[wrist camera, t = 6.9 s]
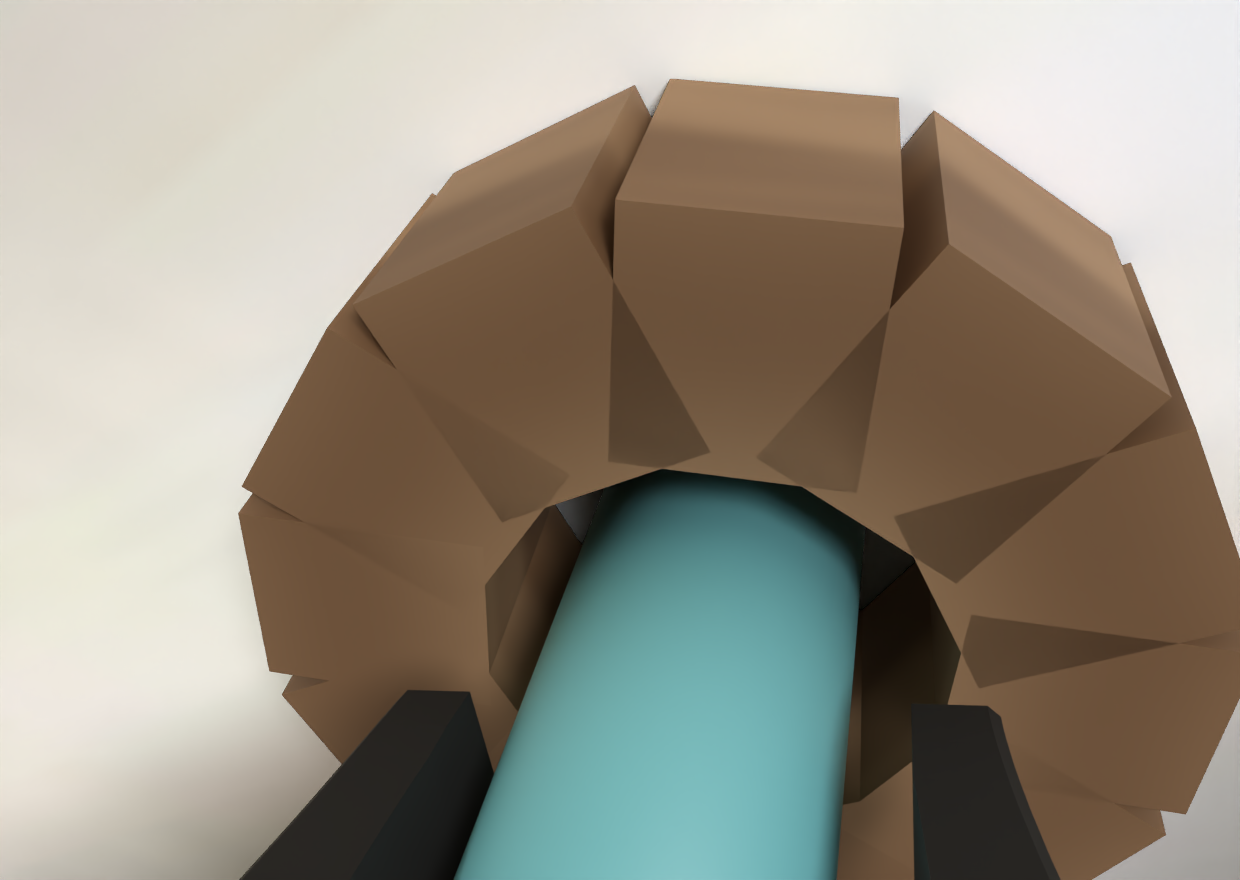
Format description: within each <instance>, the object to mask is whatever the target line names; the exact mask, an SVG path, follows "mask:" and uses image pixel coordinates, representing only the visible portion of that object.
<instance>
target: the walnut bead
mask: <svg viewBox="0 0 1240 880" xmlns="http://www.w3.org/2000/svg"><path fill="white" fill-rule="evenodd" d="M659 469H668V470H676V471H684V472H692V473H700V474H708V475H716V476H723V477H731V478H739V479H747V480H755V481H763V482H771V483H779V484H786V485H794V486H801V487H803V488H805V489H806V490H808V491H809V492H811V493H813V494H814V495H816V496H817V497H819V498H821V499H822V500H824V501H825V502H827V503H829V504H830V505H832V506H833V507H835V508H836V509H838V510H840V511H841V512H843V513H844V514H846V515H848V516H849V517H851V518H852V519H854V520H856V521H857V522H859V523H860V524H862V525H864V526H865V527H867V528H868V529H870V530H872V531H873V532H875V533H876V534H878V535H880V536H881V537H883V538H884V539H886V540H887V541H889V542H891V543H892V544H894V545H895V546H897V547H899V548H900V549H902V550H903V551H905V552H907V553H908V554H910V555H911V556H913V557H914V559H915V561H916V562H915V563H914V564H913V565H912V566H911V567H910V568H908V569H907V570H906V571H905V572H904V573H903V574H902V575H901V576H900V577H898V578H897V579H896V580H895V581H894V582H893V583H892V584H891V585H890V586H889V587H887V588H886V589H885V590H884V591H883V592H882V593H881V594H880V595H879V596H878V597H876V598H875V599H874V600H873V601H872V602H871V603H870V604H869V605H868V606H866V607H865V608H864V609H863V610H860V611H858V623H857V635H856V648H855V660H854V672H853V685H852V697H851V709H850V721H849V734H848V746H847V758H846V771H845V783H844V795H843V808H842V820H841V832H840V844H839V857H838V869H837V880H914V840H913V782H912V725H911V704H943V705H980V706H988V707H990V708H991V709H992V710H993V711H995V712H996V713H997V714H998V715H1000V716H1001V719H1002V724H1003V728H1004V732H1005V736H1006V740H1007V743H1008V746H1009V750H1010V753H1011V756H1012V759H1013V763H1014V766H1015V768H1016V771H1017V774H1018V777H1019V780H1020V783H1021V786H1022V788H1023V791H1024V794H1025V796H1026V799H1027V801H1028V804H1029V807H1030V809H1031V812H1032V814H1033V817H1034V819H1035V821H1036V824H1037V826H1038V829H1039V831H1040V833H1041V836H1042V838H1043V841H1044V843H1045V845H1046V848H1047V850H1048V853H1049V855H1050V857H1051V859H1052V862H1053V864H1054V866H1055V868H1056V870H1057V873H1058V875H1059V877H1060V879H1061V880H1092V879H1094V878H1095V877H1097V876H1099V875H1100V874H1102V873H1103V872H1105V871H1107V870H1108V869H1110V868H1112V867H1113V866H1115V865H1117V864H1118V863H1120V862H1122V861H1123V860H1125V859H1127V858H1128V857H1130V856H1132V855H1133V854H1135V853H1137V852H1138V851H1140V850H1142V849H1143V848H1145V847H1147V846H1148V845H1150V844H1152V843H1153V842H1155V841H1157V840H1158V839H1160V838H1162V837H1163V836H1165V835H1166V833H1165V829H1164V825H1163V820H1162V816H1161V812H1160V810H1162V811H1168V812H1175V813H1181V814H1186V813H1187V811H1188V808H1189V806H1190V804H1191V802H1192V800H1193V798H1194V796H1195V793H1196V791H1197V789H1198V787H1199V785H1200V783H1201V780H1202V778H1203V776H1204V774H1205V772H1206V770H1207V768H1208V765H1209V763H1210V761H1211V759H1212V757H1213V755H1214V752H1215V750H1216V748H1217V746H1218V744H1219V742H1220V740H1221V737H1222V735H1223V733H1224V731H1225V729H1226V727H1227V724H1228V722H1229V720H1230V718H1231V716H1232V714H1233V712H1234V709H1235V707H1236V705H1237V703H1238V701H1239V699H1240V558H1239V555H1238V552H1237V549H1236V546H1235V543H1234V540H1233V537H1232V534H1231V531H1230V528H1229V525H1228V522H1227V519H1226V516H1225V513H1224V510H1223V507H1222V504H1221V501H1220V498H1219V495H1218V493H1217V490H1216V487H1215V484H1214V481H1213V478H1212V475H1211V472H1210V469H1209V466H1208V463H1207V460H1206V457H1205V454H1204V451H1203V448H1202V445H1201V442H1200V439H1199V436H1198V433H1197V430H1196V427H1195V425H1194V422H1193V420H1192V417H1191V415H1190V412H1189V409H1188V407H1187V404H1186V402H1185V399H1184V397H1183V394H1182V392H1181V389H1180V387H1179V384H1178V381H1177V379H1176V376H1175V374H1174V371H1173V369H1172V366H1171V364H1170V361H1169V359H1168V356H1167V354H1166V351H1165V348H1164V346H1163V343H1162V341H1161V338H1160V336H1159V333H1158V331H1157V328H1156V326H1155V323H1154V321H1153V318H1152V315H1151V313H1150V310H1149V308H1148V305H1147V303H1146V300H1145V298H1144V295H1143V293H1142V290H1141V287H1140V285H1139V282H1138V280H1137V277H1136V275H1135V272H1134V270H1133V267H1132V265H1131V263H1128V264H1125V265H1121V262H1120V259H1119V257H1118V254H1117V251H1116V249H1115V246H1114V243H1113V241H1112V238H1111V236H1109V235H1108V234H1107V233H1105V232H1104V231H1102V230H1101V229H1100V228H1098V227H1097V226H1095V225H1094V224H1093V223H1091V222H1090V221H1088V220H1087V219H1086V218H1084V217H1083V216H1081V215H1080V214H1079V213H1077V212H1076V211H1074V210H1073V209H1072V208H1070V207H1069V206H1067V205H1066V204H1065V203H1063V202H1062V201H1060V200H1059V199H1057V198H1056V197H1055V196H1053V195H1052V194H1050V193H1049V192H1048V191H1046V190H1045V189H1043V188H1042V187H1041V186H1039V185H1038V184H1036V183H1035V182H1034V181H1032V180H1031V179H1029V178H1028V177H1027V176H1025V175H1024V174H1022V173H1021V172H1020V171H1018V170H1017V169H1015V168H1014V167H1013V166H1011V165H1010V164H1008V163H1007V162H1006V161H1004V160H1003V159H1001V158H1000V157H998V156H997V155H996V154H994V153H993V152H991V151H990V150H989V149H987V148H986V147H984V146H983V145H982V144H980V143H979V142H977V141H976V140H975V139H973V138H972V137H970V136H969V135H968V134H966V133H965V132H963V131H962V130H961V129H959V128H958V127H956V126H955V125H954V124H952V123H951V122H949V121H948V120H947V119H945V118H944V117H942V116H941V115H939V114H938V113H937V112H935V111H933V112H932V114H931V115H930V116H929V117H928V118H927V120H926V121H925V122H924V123H923V124H922V126H921V127H920V128H919V129H918V131H917V132H916V133H915V134H914V135H913V137H912V138H911V139H910V140H909V141H908V143H907V144H906V145H905V146H904V147H903V149H902V150H901V144H900V121H899V98H894V97H882V96H870V95H858V94H847V93H835V92H823V91H811V90H799V89H787V88H775V87H763V86H751V85H739V84H728V83H716V82H704V81H692V80H680V79H670V80H669V82H668V84H667V87H666V89H665V91H664V93H663V95H662V98H661V100H660V102H659V104H658V106H657V109H656V111H655V113H654V115H653V117H652V118H651V116H650V114H649V112H648V110H647V108H646V106H645V104H644V102H643V100H642V98H641V96H640V94H639V92H638V90H637V88H636V86H635V85H634V86H632V87H630V88H628V89H626V90H624V91H622V92H620V93H618V94H616V95H613V96H611V97H609V98H607V99H605V100H603V101H601V102H599V103H597V104H595V105H593V106H591V107H589V108H587V109H585V110H583V111H581V112H578V113H576V114H574V115H572V116H570V117H568V118H566V119H564V120H562V121H560V122H558V123H556V124H554V125H552V126H550V127H548V128H546V129H543V130H541V131H539V132H537V133H535V134H533V135H531V136H529V137H527V138H525V139H523V140H521V141H519V142H517V143H515V144H513V145H511V146H508V147H506V148H504V149H502V150H500V151H498V152H496V153H494V154H492V155H490V156H488V157H486V158H484V159H482V160H480V161H478V162H476V163H473V164H471V165H469V166H467V167H465V168H463V169H461V170H459V171H457V172H455V173H454V174H453V175H452V176H451V177H450V179H449V180H448V181H447V183H446V184H445V185H444V186H443V188H442V189H441V190H440V192H439V193H438V194H437V196H436V195H434V194H433V193H432V194H431V195H430V197H429V198H428V199H427V201H426V202H425V203H424V204H423V206H422V207H421V208H420V210H419V211H418V212H417V213H416V215H415V216H414V217H413V219H412V220H411V221H410V222H409V224H408V225H407V226H406V227H405V229H404V230H403V231H402V233H401V234H400V235H399V236H398V238H397V239H396V240H395V242H394V243H393V244H392V245H391V247H390V248H389V249H388V251H387V252H386V253H385V254H384V256H383V257H382V258H381V259H380V261H379V262H378V263H377V265H376V266H375V267H374V268H373V270H372V271H371V272H370V274H369V275H368V276H367V277H366V279H365V280H364V281H363V283H362V284H361V285H360V286H359V288H358V289H357V290H356V292H355V293H354V294H353V295H352V297H351V298H350V299H349V300H348V302H347V303H346V304H345V306H344V307H343V308H342V309H341V311H340V312H339V313H338V315H337V316H336V317H335V318H334V320H333V321H332V322H331V324H330V325H329V326H328V327H327V329H326V331H325V333H324V335H323V337H322V338H321V340H320V342H319V344H318V346H317V348H316V350H315V351H314V353H313V355H312V357H311V359H310V361H309V363H308V364H307V366H306V368H305V370H304V372H303V374H302V376H301V377H300V379H299V381H298V383H297V385H296V387H295V389H294V390H293V392H292V394H291V396H290V398H289V400H288V402H287V403H286V405H285V407H284V409H283V411H282V413H281V415H280V416H279V418H278V420H277V422H276V424H275V426H274V428H273V429H272V431H271V433H270V435H269V437H268V439H267V441H266V442H265V444H264V446H263V448H262V450H261V452H260V454H259V455H258V457H257V459H256V461H255V463H254V465H253V467H252V468H251V470H250V472H249V474H248V476H247V478H246V480H245V481H244V483H243V485H242V487H243V488H245V489H247V490H248V491H250V492H252V493H253V494H252V495H251V496H250V498H249V499H248V501H247V502H246V503H245V505H244V506H243V508H242V509H241V510H240V512H239V513H238V515H239V520H240V525H241V530H242V535H243V540H244V545H245V550H246V555H247V560H248V565H249V570H250V575H251V580H252V585H253V590H254V596H255V601H256V606H257V611H258V616H259V621H260V626H261V631H262V636H263V641H264V646H265V651H266V656H267V661H268V666H269V671H271V672H277V673H283V674H290V675H293V676H292V677H291V679H290V681H289V683H288V685H287V686H286V688H285V690H284V692H283V694H282V696H283V697H284V698H285V699H286V700H287V701H288V702H289V704H290V705H291V706H292V707H293V708H294V709H295V711H296V712H297V713H298V714H299V715H300V716H301V717H302V719H303V720H304V721H305V722H306V723H307V724H308V726H309V727H310V728H311V729H312V730H313V731H314V732H315V734H316V735H317V736H318V737H319V738H320V739H321V741H322V742H323V743H324V744H325V745H326V746H327V747H328V749H329V750H330V751H331V752H332V753H333V754H334V756H335V757H336V758H337V759H338V760H339V761H340V762H341V764H343V763H344V761H345V760H346V759H347V758H348V757H349V756H350V755H351V753H352V752H353V751H354V750H355V749H356V748H357V746H358V745H359V744H360V743H361V742H362V741H363V739H364V738H365V737H366V736H367V735H368V734H369V732H370V731H371V730H372V729H373V728H374V727H375V725H376V724H377V723H378V722H379V721H380V720H381V719H382V717H383V716H384V715H385V714H386V713H387V712H388V711H389V710H390V708H391V707H392V706H393V705H394V704H395V703H396V702H397V700H398V699H399V698H400V697H401V696H402V695H403V694H404V693H405V692H406V691H407V690H431V691H467V692H470V694H471V697H472V700H473V704H474V707H475V711H476V714H477V717H478V721H479V724H480V727H481V731H482V734H483V738H484V741H485V744H486V748H487V751H488V754H489V758H490V761H491V765H492V768H493V771H494V773H495V771H496V768H497V766H498V763H499V760H500V758H501V755H502V753H503V750H504V747H505V745H506V742H507V740H508V737H509V734H510V732H511V729H512V727H513V724H514V721H515V719H516V716H517V714H518V711H519V708H520V706H521V703H522V701H523V698H524V695H525V693H526V690H527V688H528V685H529V683H530V680H531V677H532V675H533V672H534V670H535V667H536V664H537V662H538V659H539V657H540V654H541V651H542V649H543V646H544V644H545V641H546V638H547V636H548V633H549V631H550V628H551V625H552V623H553V620H554V618H555V615H556V612H557V610H558V607H559V605H560V602H561V599H562V597H563V594H564V592H565V589H566V587H567V584H568V581H569V579H570V576H571V574H572V571H573V568H574V566H575V563H576V561H577V558H578V555H579V553H580V550H581V548H582V545H581V544H580V542H579V541H578V539H577V537H576V536H575V534H574V533H573V531H572V530H571V528H570V527H569V525H568V524H567V522H566V521H565V519H564V518H563V516H562V515H561V513H560V512H559V510H558V509H557V507H556V506H555V504H558V503H561V502H564V501H567V500H570V499H573V498H576V497H579V496H582V495H585V494H588V493H591V492H594V491H597V490H600V489H603V488H606V487H609V486H612V485H614V484H617V483H620V482H623V481H626V480H629V479H632V478H635V477H638V476H641V475H644V474H647V473H650V472H653V471H656V470H659Z"/></svg>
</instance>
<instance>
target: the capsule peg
mask: <svg viewBox="0 0 1240 880" xmlns="http://www.w3.org/2000/svg"><path fill="white" fill-rule="evenodd" d="M864 537H865V526H864V525H862V524H860V523H859V522H857V521H856V520H854V519H852V518H851V517H849V516H848V515H846V514H844V513H843V512H841V511H840V510H838V509H836V508H835V507H833V506H832V505H830V504H829V503H827V502H825V501H824V500H822V499H821V498H819V497H817V496H816V495H814V494H813V493H811V492H809V491H808V490H806V489H805V488H803V487H801V486H794V485H786V484H779V483H771V482H763V481H755V480H747V479H739V478H731V477H723V476H716V475H708V474H700V473H692V472H684V471H676V470H668V469H659V470H656V471H653V472H650V473H647V474H644V475H641V476H638V477H635V478H632V479H629V480H626V481H623V482H620V483H617V484H614V485H612V486H609V487H606V488H604V491H603V493H602V496H601V498H600V501H599V504H598V506H597V509H596V511H595V514H594V516H593V519H592V522H591V524H590V527H589V529H588V532H587V535H586V537H585V540H584V542H583V545H582V548H581V550H580V553H579V555H578V558H577V561H576V563H575V566H574V568H573V571H572V574H571V576H570V579H569V581H568V584H567V587H566V589H565V592H564V594H563V597H562V599H561V602H560V605H559V607H558V610H557V612H556V615H555V618H554V620H553V623H552V625H551V628H550V631H549V633H548V636H547V638H546V641H545V644H544V646H543V649H542V651H541V654H540V657H539V659H538V662H537V664H536V667H535V670H534V672H533V675H532V677H531V680H530V683H529V685H528V688H527V690H526V693H525V695H524V698H523V701H522V703H521V706H520V708H519V711H518V714H517V716H516V719H515V721H514V724H513V727H512V729H511V732H510V734H509V737H508V740H507V742H506V745H505V747H504V750H503V753H502V755H501V758H500V760H499V763H498V766H497V768H496V771H495V773H494V776H493V778H492V781H491V784H490V786H489V789H488V791H487V794H486V797H485V799H484V802H483V804H482V807H481V810H480V812H479V815H478V817H477V820H476V823H475V825H474V828H473V830H472V833H471V836H470V838H469V841H468V843H467V846H466V849H465V851H464V854H463V856H462V859H461V862H460V864H459V867H458V869H457V872H456V874H455V877H454V880H837V869H838V857H839V844H840V832H841V820H842V808H843V795H844V783H845V771H846V758H847V746H848V734H849V721H850V709H851V697H852V685H853V672H854V660H855V648H856V635H857V623H858V611H859V598H860V586H861V574H862V562H863V549H864Z"/></svg>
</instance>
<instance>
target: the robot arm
mask: <svg viewBox="0 0 1240 880" xmlns="http://www.w3.org/2000/svg"><path fill="white" fill-rule="evenodd" d="M911 725H912V782H913V840H914V880H1061V879H1060V877H1059V875H1058V873H1057V870H1056V868H1055V866H1054V864H1053V862H1052V859H1051V857H1050V855H1049V853H1048V850H1047V848H1046V845H1045V843H1044V841H1043V838H1042V836H1041V833H1040V831H1039V829H1038V826H1037V824H1036V821H1035V819H1034V817H1033V814H1032V812H1031V809H1030V807H1029V804H1028V801H1027V799H1026V796H1025V794H1024V791H1023V788H1022V786H1021V783H1020V780H1019V777H1018V774H1017V771H1016V768H1015V766H1014V763H1013V759H1012V756H1011V753H1010V750H1009V746H1008V743H1007V740H1006V736H1005V732H1004V728H1003V724H1002V719H1001V716H1000V715H998V714H997V713H996V712H995V711H993V710H992V709H991V708H990V707H988V706H980V705H943V704H911ZM493 776H494V771H493V768H492V765H491V761H490V758H489V754H488V751H487V748H486V744H485V741H484V738H483V734H482V731H481V727H480V724H479V721H478V717H477V714H476V711H475V707H474V704H473V700H472V697H471V694H470V692H467V691H431V690H407V691H406V692H405V693H404V694H403V695H402V696H401V697H400V698H399V699H398V700H397V702H396V703H395V704H394V705H393V706H392V707H391V708H390V710H389V711H388V712H387V713H386V714H385V715H384V716H383V717H382V719H381V720H380V721H379V722H378V723H377V724H376V725H375V727H374V728H373V729H372V730H371V731H370V732H369V734H368V735H367V736H366V737H365V738H364V739H363V741H362V742H361V743H360V744H359V745H358V746H357V748H356V749H355V750H354V751H353V752H352V753H351V755H350V756H349V757H348V758H347V759H346V760H345V761H344V763H343V764H342V765H341V766H340V767H339V768H338V770H337V771H336V772H335V773H334V774H333V775H332V777H331V778H330V779H329V780H328V781H327V782H326V783H325V785H324V786H323V787H322V788H321V789H320V790H319V791H318V793H317V794H316V795H315V796H314V797H313V798H312V799H311V801H310V802H309V803H308V804H307V805H306V806H305V808H304V809H303V810H302V811H301V812H300V813H299V814H298V815H297V817H296V818H295V819H294V820H293V821H292V822H291V823H290V824H289V825H288V827H287V828H286V829H285V830H284V831H283V832H282V833H281V834H280V835H279V837H278V838H277V839H276V840H275V841H274V842H273V843H272V844H271V845H270V846H269V848H268V849H267V850H266V851H265V852H264V853H263V854H262V855H261V856H260V857H259V859H258V860H257V861H256V862H255V863H254V864H253V865H252V866H251V867H250V869H249V870H248V871H247V872H246V873H245V874H244V875H243V876H242V877H241V878H240V880H454V877H455V874H456V872H457V869H458V867H459V864H460V862H461V859H462V856H463V854H464V851H465V849H466V846H467V843H468V841H469V838H470V836H471V833H472V830H473V828H474V825H475V823H476V820H477V817H478V815H479V812H480V810H481V807H482V804H483V802H484V799H485V797H486V794H487V791H488V789H489V786H490V784H491V781H492V778H493Z"/></svg>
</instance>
